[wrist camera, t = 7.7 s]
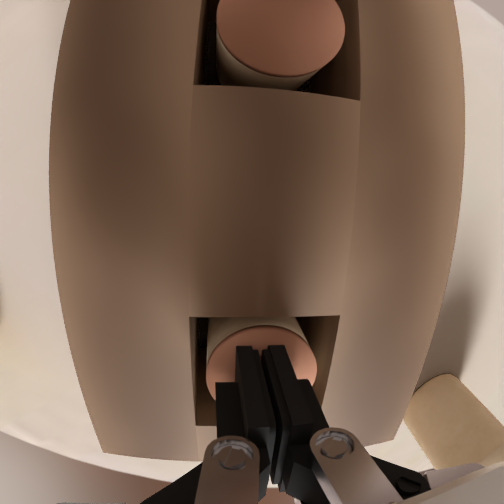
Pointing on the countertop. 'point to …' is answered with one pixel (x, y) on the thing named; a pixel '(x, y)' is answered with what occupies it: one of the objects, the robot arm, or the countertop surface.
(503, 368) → the countertop surface
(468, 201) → the countertop surface
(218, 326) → the peg far
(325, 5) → the peg near
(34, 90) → the countertop surface
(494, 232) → the countertop surface
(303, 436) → the robot arm
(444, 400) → the candle
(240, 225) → the block
